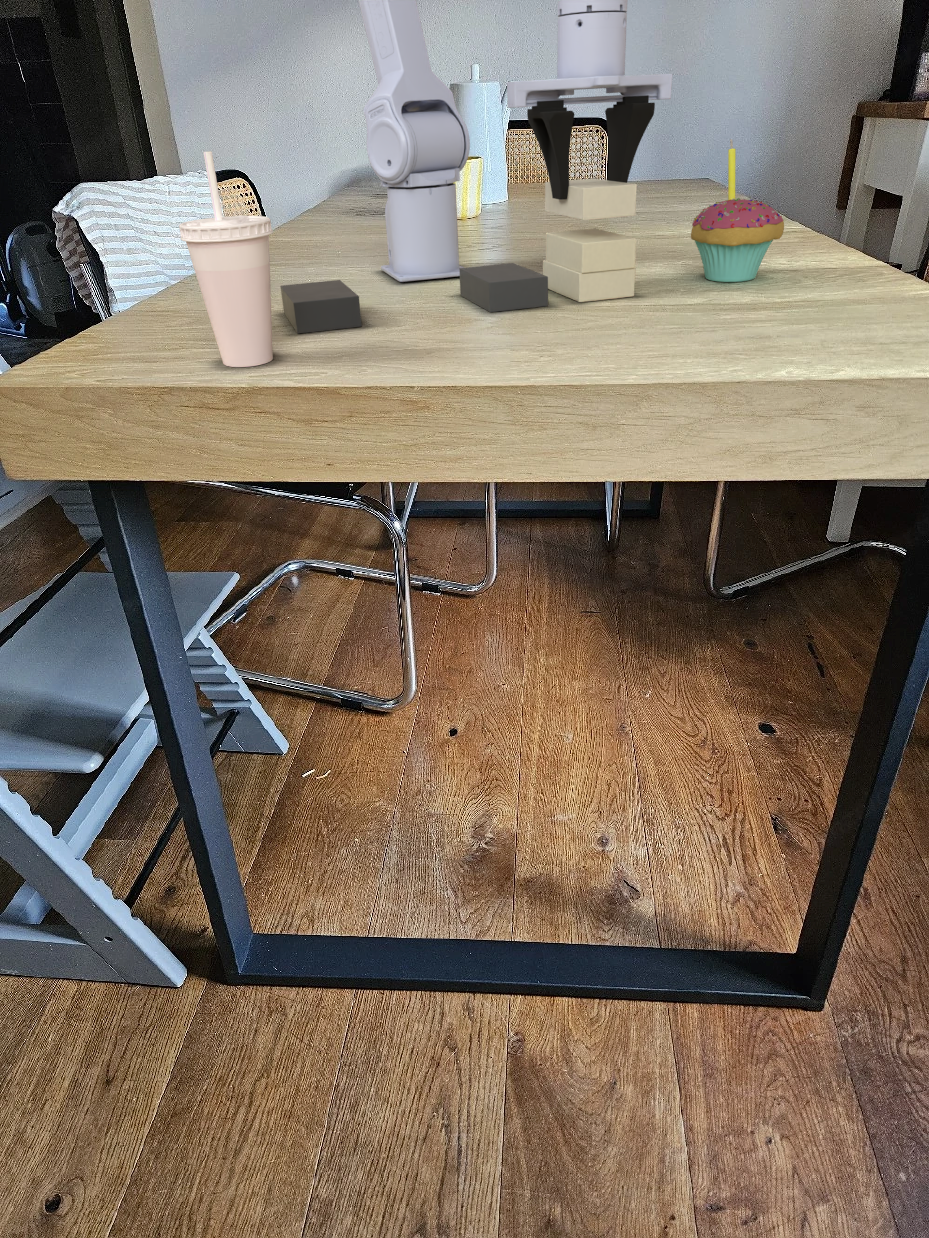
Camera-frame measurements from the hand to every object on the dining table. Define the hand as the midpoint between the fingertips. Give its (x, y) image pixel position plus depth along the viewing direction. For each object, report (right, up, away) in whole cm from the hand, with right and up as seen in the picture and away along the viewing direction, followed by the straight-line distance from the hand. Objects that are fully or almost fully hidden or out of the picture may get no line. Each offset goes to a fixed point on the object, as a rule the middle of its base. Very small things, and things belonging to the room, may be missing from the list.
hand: (588, 196), depth 80 cm
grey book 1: (-24, -12, -2) cm, 27 cm away
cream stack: (0, -7, +4) cm, 8 cm away
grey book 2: (-8, -9, +2) cm, 12 cm away
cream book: (0, -1, +1) cm, 1 cm away
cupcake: (+15, -5, +7) cm, 17 cm away
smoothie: (-27, -19, -13) cm, 36 cm away
